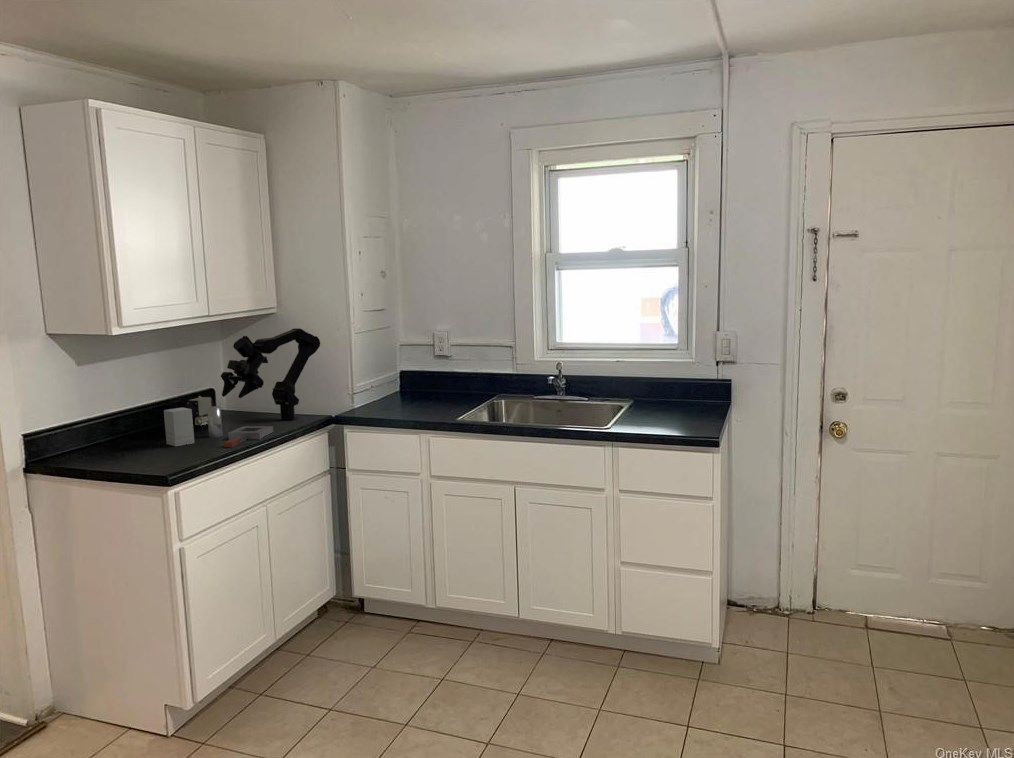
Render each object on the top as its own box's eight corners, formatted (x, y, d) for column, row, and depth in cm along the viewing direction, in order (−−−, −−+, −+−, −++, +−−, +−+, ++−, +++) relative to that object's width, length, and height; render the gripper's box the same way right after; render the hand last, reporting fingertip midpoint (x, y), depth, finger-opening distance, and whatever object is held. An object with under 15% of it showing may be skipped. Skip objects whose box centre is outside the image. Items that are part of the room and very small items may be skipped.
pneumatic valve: (216, 422, 324) (213, 393, 322) (196, 428, 313) (194, 398, 311) (205, 422, 325) (202, 393, 324) (185, 427, 314) (182, 398, 313)
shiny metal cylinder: (213, 434, 299) (210, 406, 298) (225, 434, 299) (222, 406, 297) (206, 437, 294) (204, 408, 293) (219, 437, 294) (216, 408, 292)
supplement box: (195, 443, 285) (192, 408, 283) (175, 446, 279) (172, 412, 278) (185, 440, 290) (183, 406, 288) (165, 444, 284) (163, 409, 283)
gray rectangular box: (243, 432, 301) (242, 426, 301) (273, 432, 300) (272, 426, 300) (211, 447, 277) (211, 440, 277) (244, 447, 275) (243, 440, 275)
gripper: (222, 351, 308) (201, 382, 300) (256, 352, 299) (234, 385, 291) (239, 369, 316) (219, 400, 308) (273, 371, 307) (252, 403, 299)
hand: (230, 396), depth 301 cm, fingers open, 9 cm apart
